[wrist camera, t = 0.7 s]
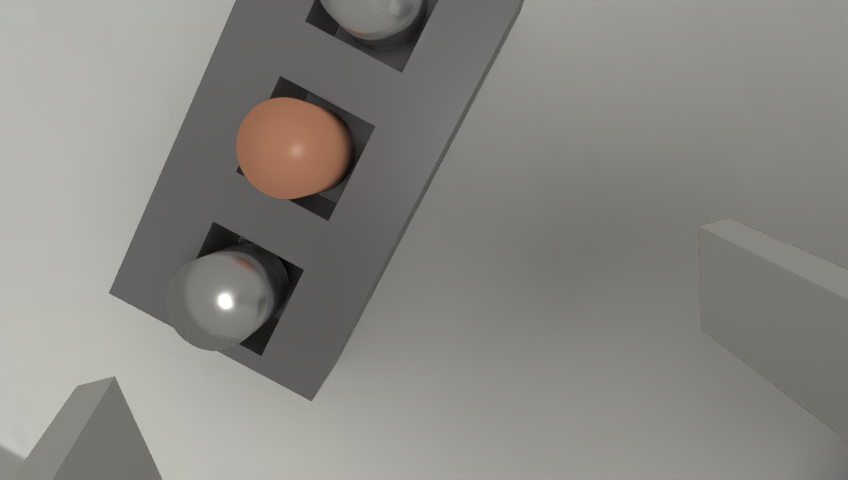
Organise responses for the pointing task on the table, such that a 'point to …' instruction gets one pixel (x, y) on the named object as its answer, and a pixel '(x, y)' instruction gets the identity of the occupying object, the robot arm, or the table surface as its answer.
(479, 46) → the button console
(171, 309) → the steel button far
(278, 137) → the terracotta button
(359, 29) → the steel button near
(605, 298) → the table surface
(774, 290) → the robot arm
